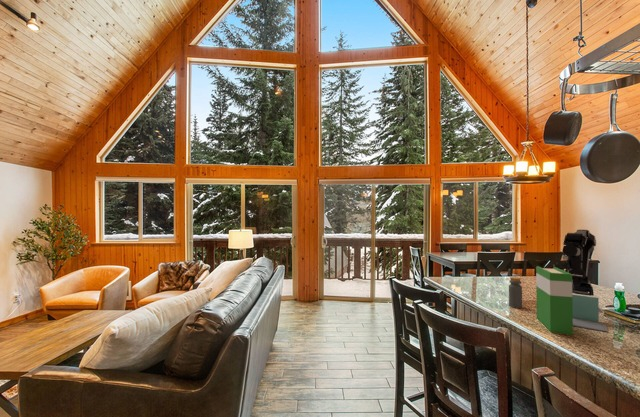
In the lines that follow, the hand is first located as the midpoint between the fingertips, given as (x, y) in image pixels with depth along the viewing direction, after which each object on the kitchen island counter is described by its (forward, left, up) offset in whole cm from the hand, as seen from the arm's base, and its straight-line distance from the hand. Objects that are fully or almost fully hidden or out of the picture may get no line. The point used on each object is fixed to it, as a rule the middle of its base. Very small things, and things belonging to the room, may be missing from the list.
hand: (574, 289), depth 152 cm
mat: (+19, +8, -11) cm, 23 cm away
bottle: (+14, -21, -11) cm, 27 cm away
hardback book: (+32, +1, -11) cm, 34 cm away
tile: (+11, +6, -11) cm, 16 cm away
